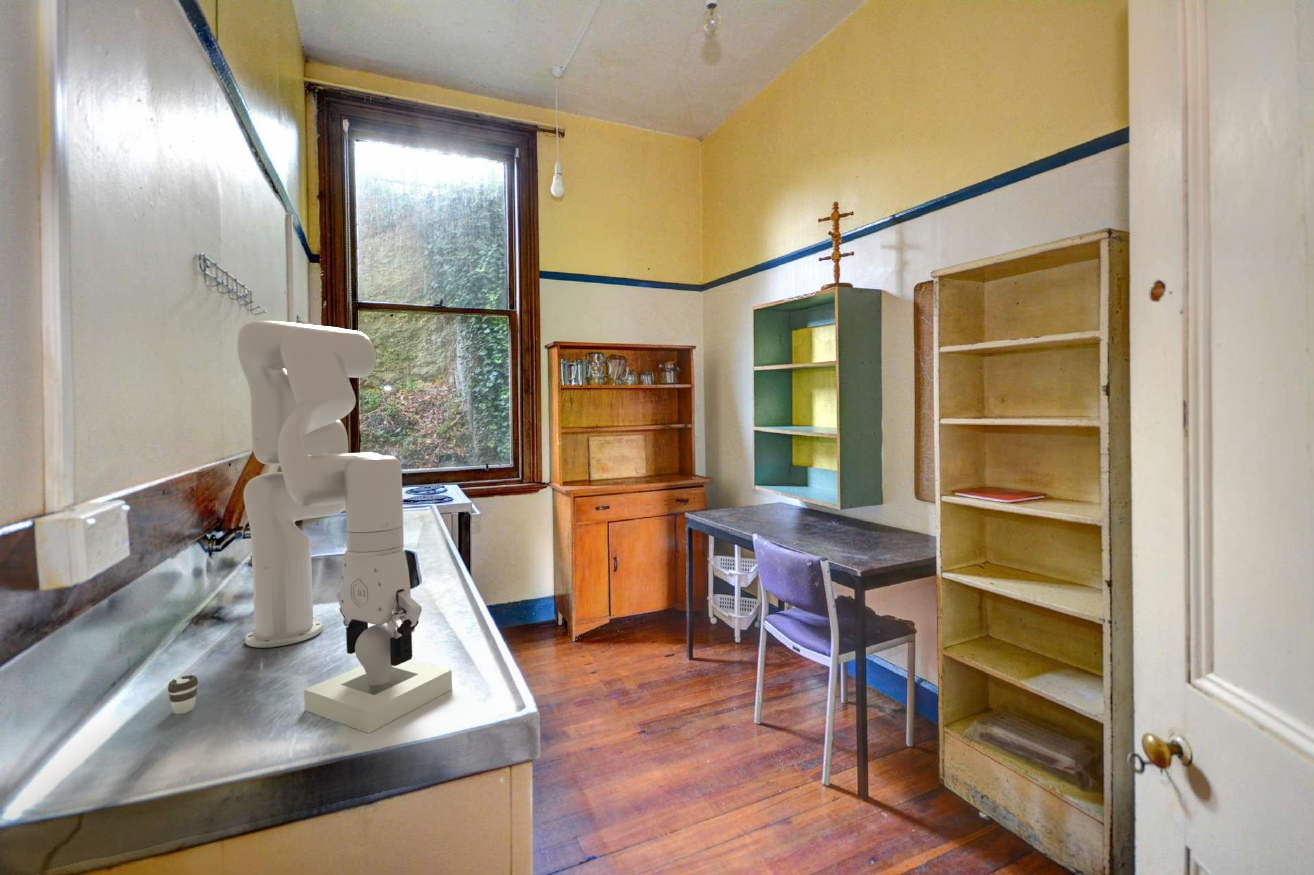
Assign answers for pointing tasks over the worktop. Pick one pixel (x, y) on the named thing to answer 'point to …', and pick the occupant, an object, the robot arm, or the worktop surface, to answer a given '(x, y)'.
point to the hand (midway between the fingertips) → (379, 656)
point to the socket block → (377, 695)
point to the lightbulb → (375, 656)
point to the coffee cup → (183, 694)
